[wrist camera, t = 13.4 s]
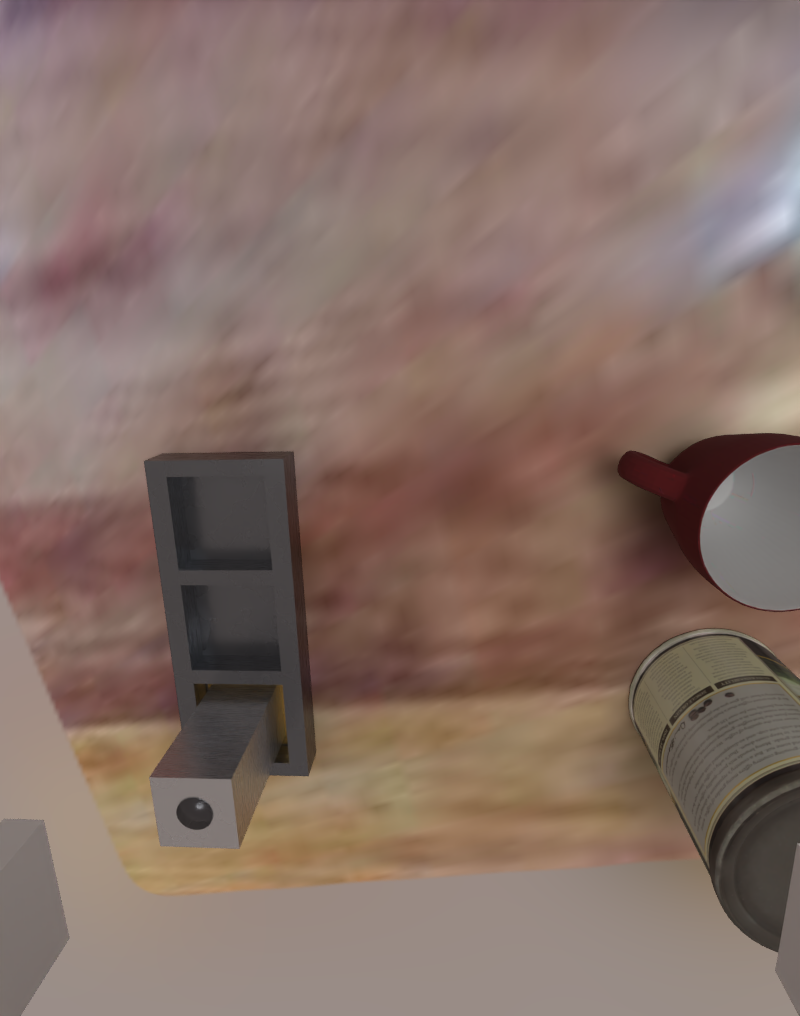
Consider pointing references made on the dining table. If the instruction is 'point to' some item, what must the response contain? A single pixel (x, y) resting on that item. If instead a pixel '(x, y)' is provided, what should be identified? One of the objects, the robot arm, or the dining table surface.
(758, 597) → the mug
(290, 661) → the grey compartment tray
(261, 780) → the grey block with knob
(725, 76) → the dining table surface
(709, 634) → the coffee can
